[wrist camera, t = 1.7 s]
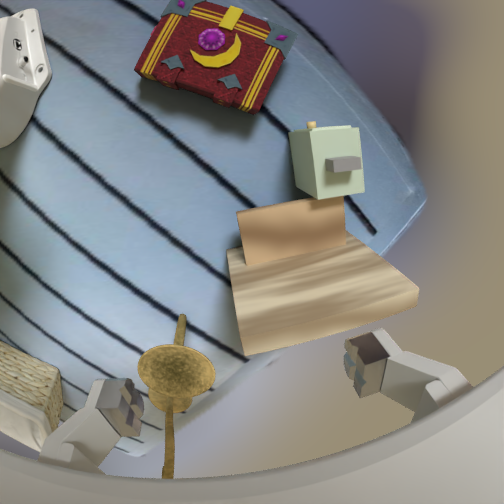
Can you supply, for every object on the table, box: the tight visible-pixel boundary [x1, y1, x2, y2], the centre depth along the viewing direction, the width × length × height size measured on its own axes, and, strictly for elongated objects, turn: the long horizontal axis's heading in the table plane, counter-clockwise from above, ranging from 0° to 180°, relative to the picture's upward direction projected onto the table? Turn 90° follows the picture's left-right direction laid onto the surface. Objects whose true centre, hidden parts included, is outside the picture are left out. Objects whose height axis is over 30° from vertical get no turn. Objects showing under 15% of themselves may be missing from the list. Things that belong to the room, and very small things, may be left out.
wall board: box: [226, 196, 419, 356], centre depth 29 cm, size 10×16×18 cm, turn 99°
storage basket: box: [0, 341, 63, 452], centre depth 34 cm, size 24×16×15 cm
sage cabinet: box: [288, 121, 364, 200], centre depth 30 cm, size 8×6×10 cm
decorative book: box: [134, 0, 298, 115], centre depth 26 cm, size 11×16×5 cm
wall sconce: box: [138, 314, 215, 479], centre depth 30 cm, size 14×10×25 cm
